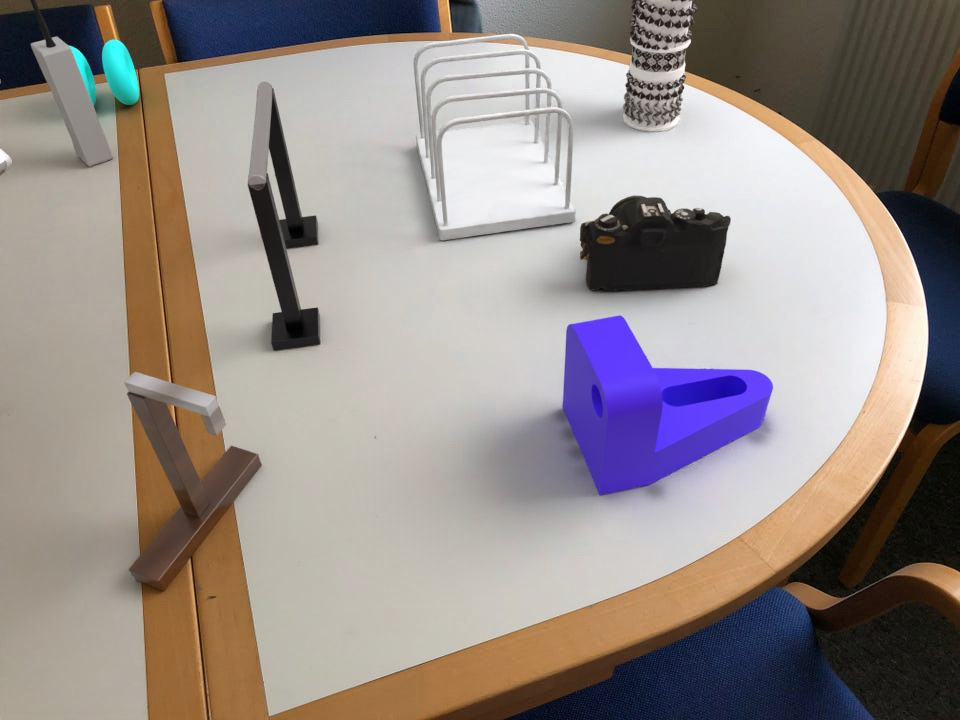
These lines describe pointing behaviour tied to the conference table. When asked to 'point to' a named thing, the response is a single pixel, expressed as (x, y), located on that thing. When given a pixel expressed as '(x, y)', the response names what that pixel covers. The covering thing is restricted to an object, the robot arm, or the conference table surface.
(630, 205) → the film camera
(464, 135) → the file sorter
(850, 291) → the conference table surface
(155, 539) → the headphone stand
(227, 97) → the conference table surface
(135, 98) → the donuts
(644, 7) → the white patterned cylinder
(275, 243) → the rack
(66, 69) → the vintage mobile phone
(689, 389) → the bracket
